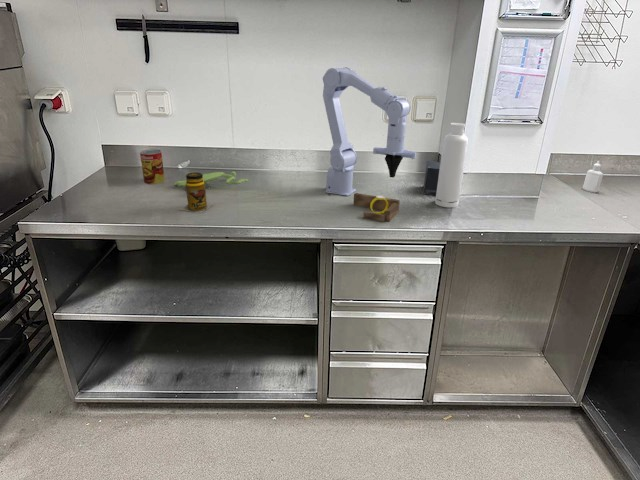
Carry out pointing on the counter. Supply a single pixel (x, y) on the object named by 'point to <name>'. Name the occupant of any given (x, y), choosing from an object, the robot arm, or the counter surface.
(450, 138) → the bottle
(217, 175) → the figurine
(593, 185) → the eye dropper bottle
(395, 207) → the wooden u-shaped block
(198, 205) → the condiment
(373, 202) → the watch
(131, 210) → the counter surface
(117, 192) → the counter surface
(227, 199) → the counter surface
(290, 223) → the counter surface
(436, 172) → the small box
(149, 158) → the canned food
